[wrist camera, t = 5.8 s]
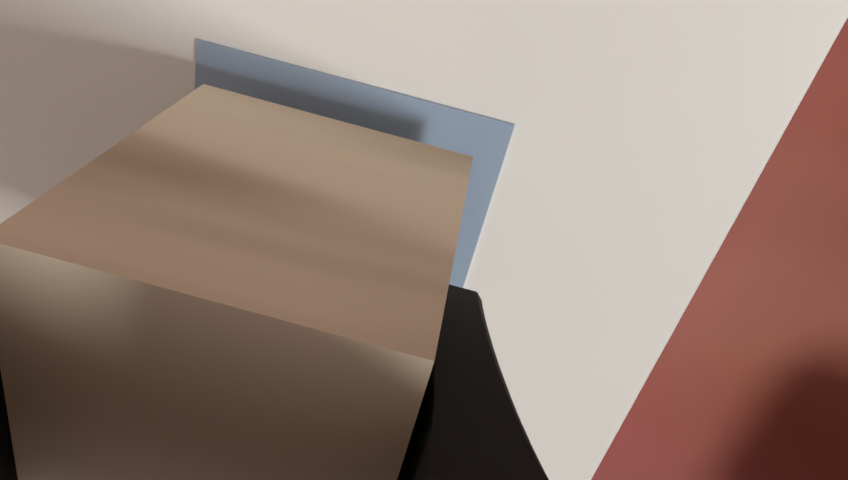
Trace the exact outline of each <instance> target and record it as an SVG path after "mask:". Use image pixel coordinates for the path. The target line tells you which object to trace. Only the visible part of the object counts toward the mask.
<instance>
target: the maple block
mask: <svg viewBox="0 0 848 480" xmlns="http://www.w3.org/2000/svg"><path fill="white" fill-rule="evenodd" d="M472 160H473V156H469V155H465V154H462V153H458V152H454V151H450V150H447V149H443V148H439V147H436V146H432V145H428V144H424V143H421V142H417V141H413V140H410V139H406V138H402V137H398V136H395V135H391V134H387V133H384V132H380V131H376V130H372V129H369V128H365V127H361V126H358V125H354V124H350V123H346V122H343V121H339V120H335V119H332V118H328V117H324V116H320V115H317V114H313V113H309V112H306V111H302V110H298V109H294V108H291V107H287V106H283V105H280V104H276V103H272V102H269V101H265V100H261V99H257V98H254V97H250V96H246V95H243V94H239V93H235V92H231V91H228V90H224V89H220V88H217V87H213V86H209V85H205V84H203V85H201V86H200V87H198V88H197V89H195V90H194V91H192V92H191V93H190V94H188V95H187V96H185V97H184V98H182V99H181V100H179V101H178V102H176V103H175V104H174V105H172V106H171V107H169V108H168V109H166V110H165V111H163V112H162V113H160V114H159V115H158V116H156V117H155V118H153V119H152V120H150V121H149V122H147V123H146V124H144V125H143V126H142V127H140V128H139V129H137V130H136V131H134V132H133V133H131V134H130V135H128V136H127V137H126V138H124V139H123V140H121V141H120V142H118V143H117V144H115V145H114V146H113V147H111V148H110V149H108V150H107V151H105V152H104V153H102V154H101V155H99V156H98V157H97V158H95V159H94V160H92V161H91V162H89V163H88V164H86V165H85V166H83V167H82V168H81V169H79V170H78V171H76V172H75V173H73V174H72V175H70V176H69V177H67V178H66V179H65V180H63V181H62V182H60V183H59V184H57V185H56V186H54V187H53V188H52V189H50V190H49V191H47V192H46V193H44V194H43V195H41V196H40V197H38V198H37V199H36V200H34V201H33V202H31V203H30V204H28V205H27V206H25V207H24V208H22V209H21V210H20V211H18V212H17V213H15V214H14V215H12V216H11V217H9V218H8V219H6V220H5V221H4V222H2V223H1V224H0V370H1V376H2V383H3V389H4V395H5V401H6V408H7V414H8V420H9V427H10V433H11V439H12V445H13V452H14V458H15V464H16V471H17V477H18V480H397V479H398V476H399V473H400V469H401V466H402V463H403V460H404V457H405V453H406V450H407V447H408V444H409V441H410V437H411V434H412V431H413V428H414V425H415V422H416V418H417V415H418V412H419V409H420V406H421V402H422V399H423V396H424V393H425V390H426V386H427V383H428V380H429V377H430V374H431V371H432V367H433V364H434V361H435V356H436V350H437V345H438V340H439V334H440V329H441V324H442V319H443V313H444V308H445V303H446V298H447V292H448V287H449V282H450V276H451V271H452V266H453V261H454V255H455V250H456V245H457V240H458V234H459V229H460V224H461V218H462V213H463V208H464V203H465V197H466V192H467V187H468V181H469V176H470V171H471V166H472Z"/></svg>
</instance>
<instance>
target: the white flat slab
mask: <svg viewBox="0 0 848 480" xmlns="http://www.w3.org/2000/svg"><path fill="white" fill-rule="evenodd" d="M847 17H848V0H0V224H1V223H2V222H4V221H5V220H6V219H8V218H9V217H11V216H12V215H14V214H15V213H17V212H18V211H20V210H21V209H22V208H24V207H25V206H27V205H28V204H30V203H31V202H33V201H34V200H36V199H37V198H38V197H40V196H41V195H43V194H44V193H46V192H47V191H49V190H50V189H52V188H53V187H54V186H56V185H57V184H59V183H60V182H62V181H63V180H65V179H66V178H67V177H69V176H70V175H72V174H73V173H75V172H76V171H78V170H79V169H81V168H82V167H83V166H85V165H86V164H88V163H89V162H91V161H92V160H94V159H95V158H97V157H98V156H99V155H101V154H102V153H104V152H105V151H107V150H108V149H110V148H111V147H113V146H114V145H115V144H117V143H118V142H120V141H121V140H123V139H124V138H126V137H127V136H128V135H130V134H131V133H133V132H134V131H136V130H137V129H139V128H140V127H142V126H143V125H144V124H146V123H147V122H149V121H150V120H152V119H153V118H155V117H156V116H158V115H159V114H160V113H162V112H163V111H165V110H166V109H168V108H169V107H171V106H172V105H174V104H175V103H176V102H178V101H179V100H181V99H182V98H184V97H185V96H187V95H188V94H190V93H191V92H192V91H194V90H195V89H197V88H198V87H200V86H201V85H203V84H205V85H209V86H213V87H217V88H220V89H224V90H228V91H231V92H235V93H239V94H243V95H246V96H250V97H254V98H257V99H261V100H265V101H269V102H272V103H276V104H280V105H283V106H287V107H291V108H294V109H298V110H302V111H306V112H309V113H313V114H317V115H320V116H324V117H328V118H332V119H335V120H339V121H343V122H346V123H350V124H354V125H358V126H361V127H365V128H369V129H372V130H376V131H380V132H384V133H387V134H391V135H395V136H398V137H402V138H406V139H410V140H413V141H417V142H421V143H424V144H428V145H432V146H436V147H439V148H443V149H447V150H450V151H454V152H458V153H462V154H465V155H469V156H473V160H472V166H471V171H470V176H469V181H468V187H467V192H466V197H465V203H464V208H463V213H462V218H461V224H460V229H459V234H458V240H457V245H456V250H455V255H454V261H453V266H452V271H451V276H450V282H449V284H450V285H454V286H457V287H461V288H465V289H468V290H472V291H476V292H477V293H478V295H479V296H480V298H481V300H482V306H483V310H484V315H485V319H486V323H487V327H488V331H489V334H490V338H491V341H492V344H493V348H494V351H495V354H496V357H497V360H498V363H499V366H500V369H501V372H502V374H503V377H504V380H505V382H506V385H507V388H508V391H509V393H510V396H511V399H512V401H513V404H514V406H515V408H516V411H517V413H518V416H519V418H520V420H521V423H522V425H523V427H524V429H525V431H526V434H527V436H528V438H529V440H530V443H531V445H532V447H533V449H534V451H535V453H536V455H537V457H538V459H539V461H540V463H541V465H542V467H543V469H544V471H545V473H546V475H547V477H548V479H549V480H591V479H592V477H593V475H594V473H595V471H596V470H597V468H598V466H599V464H600V462H601V461H602V459H603V457H604V455H605V453H606V452H607V450H608V448H609V446H610V444H611V443H612V441H613V439H614V437H615V435H616V434H617V432H618V430H619V428H620V426H621V425H622V423H623V421H624V419H625V417H626V416H627V414H628V412H629V410H630V408H631V407H632V405H633V403H634V401H635V399H636V398H637V396H638V394H639V392H640V390H641V389H642V387H643V385H644V383H645V381H646V380H647V378H648V376H649V374H650V372H651V371H652V369H653V367H654V365H655V363H656V362H657V360H658V358H659V356H660V354H661V353H662V351H663V349H664V347H665V345H666V344H667V342H668V340H669V338H670V336H671V335H672V333H673V331H674V329H675V327H676V325H677V324H678V322H679V320H680V318H681V316H682V315H683V313H684V311H685V309H686V307H687V306H688V304H689V302H690V300H691V298H692V297H693V295H694V293H695V291H696V289H697V288H698V286H699V284H700V282H701V280H702V279H703V277H704V275H705V273H706V271H707V270H708V268H709V266H710V264H711V262H712V261H713V259H714V257H715V255H716V253H717V252H718V250H719V248H720V246H721V244H722V243H723V241H724V239H725V237H726V235H727V234H728V232H729V230H730V228H731V226H732V225H733V223H734V221H735V219H736V217H737V216H738V214H739V212H740V210H741V208H742V207H743V205H744V203H745V201H746V199H747V198H748V196H749V194H750V192H751V190H752V189H753V187H754V185H755V183H756V181H757V179H758V178H759V176H760V174H761V172H762V170H763V169H764V167H765V165H766V163H767V161H768V160H769V158H770V156H771V154H772V152H773V151H774V149H775V147H776V145H777V143H778V142H779V140H780V138H781V136H782V134H783V133H784V131H785V129H786V127H787V125H788V124H789V122H790V120H791V118H792V116H793V115H794V113H795V111H796V109H797V107H798V106H799V104H800V102H801V100H802V98H803V97H804V95H805V93H806V91H807V89H808V88H809V86H810V84H811V82H812V80H813V79H814V77H815V75H816V73H817V71H818V70H819V68H820V66H821V64H822V62H823V61H824V59H825V57H826V55H827V53H828V52H829V50H830V48H831V46H832V44H833V43H834V41H835V39H836V37H837V35H838V33H839V32H840V30H841V28H842V26H843V24H844V23H845V21H846V19H847Z"/></svg>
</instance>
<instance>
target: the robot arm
mask: <svg viewBox="0 0 848 480" xmlns="http://www.w3.org/2000/svg"><path fill="white" fill-rule="evenodd" d="M0 480H18V477H17V471H16V464H15V458H14V452H13V445H12V439H11V433H10V427H9V420H8V414H7V408H6V401H5V395H4V389H3V383H2V376H1V370H0ZM397 480H549V479H548V477H547V475H546V473H545V471H544V469H543V467H542V465H541V463H540V461H539V459H538V457H537V455H536V453H535V451H534V449H533V447H532V445H531V443H530V440H529V438H528V436H527V434H526V431H525V429H524V427H523V425H522V423H521V420H520V418H519V416H518V413H517V411H516V408H515V406H514V404H513V401H512V399H511V396H510V393H509V391H508V388H507V385H506V382H505V380H504V377H503V374H502V372H501V369H500V366H499V363H498V360H497V357H496V354H495V351H494V348H493V344H492V341H491V338H490V334H489V331H488V327H487V323H486V319H485V315H484V310H483V306H482V300H481V298H480V296H479V295H478V293H477V292H476V291H472V290H468V289H465V288H461V287H457V286H454V285H450V284H449V287H448V292H447V298H446V303H445V308H444V313H443V319H442V324H441V329H440V334H439V340H438V345H437V350H436V356H435V361H434V364H433V367H432V371H431V374H430V377H429V380H428V383H427V386H426V390H425V393H424V396H423V399H422V402H421V406H420V409H419V412H418V415H417V418H416V422H415V425H414V428H413V431H412V434H411V437H410V441H409V444H408V447H407V450H406V453H405V457H404V460H403V463H402V466H401V469H400V473H399V476H398V479H397Z"/></svg>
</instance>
